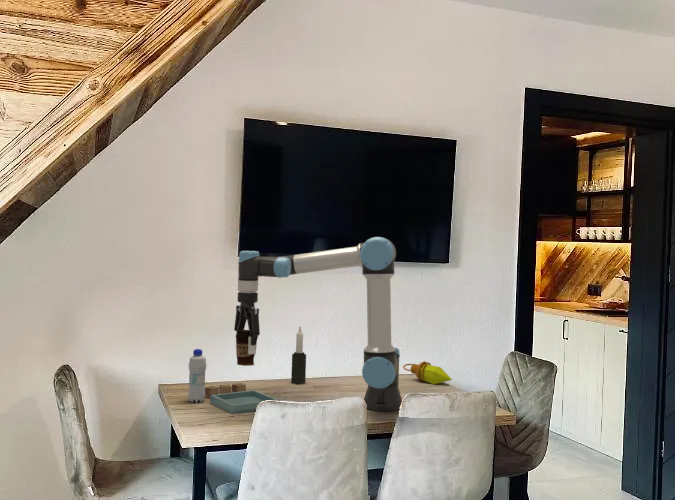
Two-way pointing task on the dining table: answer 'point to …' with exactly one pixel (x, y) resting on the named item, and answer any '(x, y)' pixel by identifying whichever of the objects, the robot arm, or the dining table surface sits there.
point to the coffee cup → (243, 348)
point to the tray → (239, 401)
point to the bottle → (197, 376)
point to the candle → (298, 361)
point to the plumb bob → (428, 373)
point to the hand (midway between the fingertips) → (246, 352)
